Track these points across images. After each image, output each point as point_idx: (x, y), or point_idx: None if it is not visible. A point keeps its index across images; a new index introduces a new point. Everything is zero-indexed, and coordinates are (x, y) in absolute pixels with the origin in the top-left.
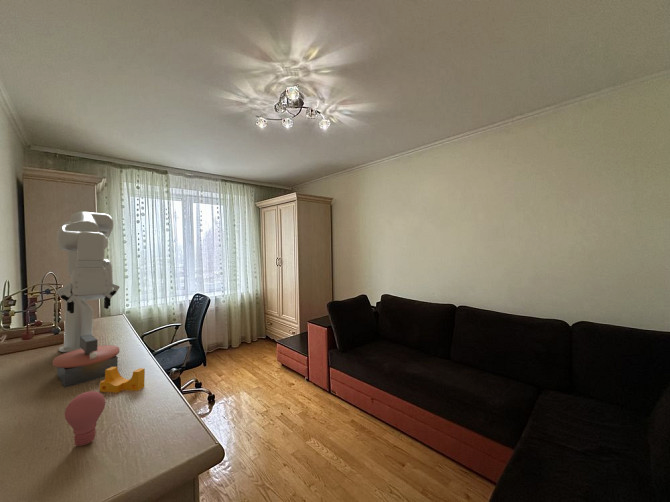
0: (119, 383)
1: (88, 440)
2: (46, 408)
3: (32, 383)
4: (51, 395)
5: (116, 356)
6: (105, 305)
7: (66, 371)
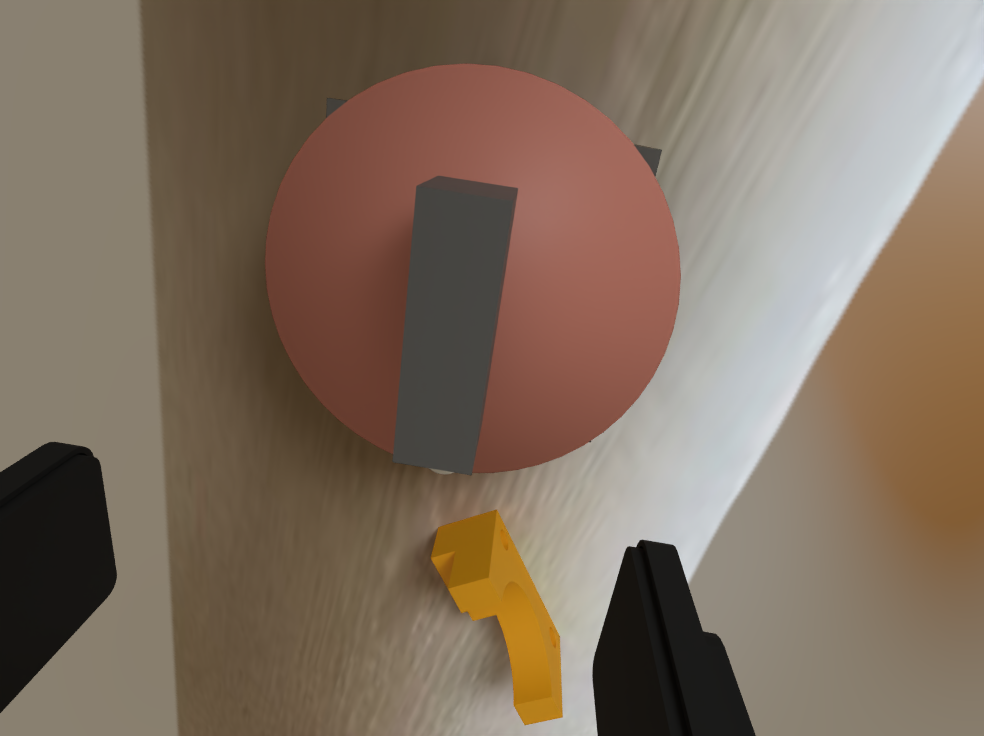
0: (486, 607)
1: None
2: (270, 498)
3: (252, 112)
4: (299, 390)
5: None
6: (611, 681)
7: None
